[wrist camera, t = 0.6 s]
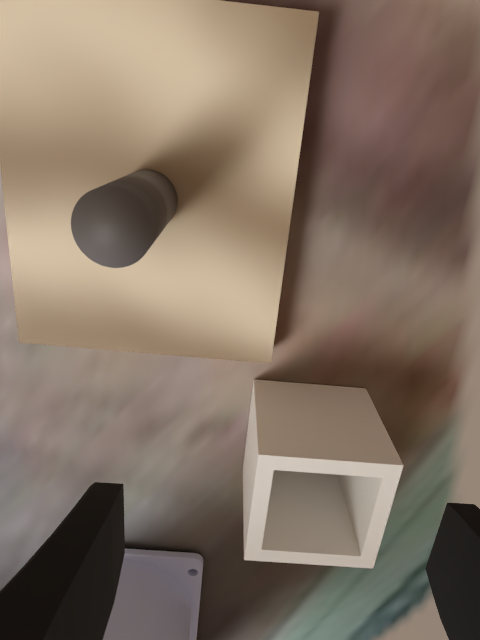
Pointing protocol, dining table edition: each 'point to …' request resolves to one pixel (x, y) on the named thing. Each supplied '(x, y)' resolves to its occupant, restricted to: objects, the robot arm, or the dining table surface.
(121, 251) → the roll holder
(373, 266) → the dining table surface
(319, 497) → the hollow square tube
